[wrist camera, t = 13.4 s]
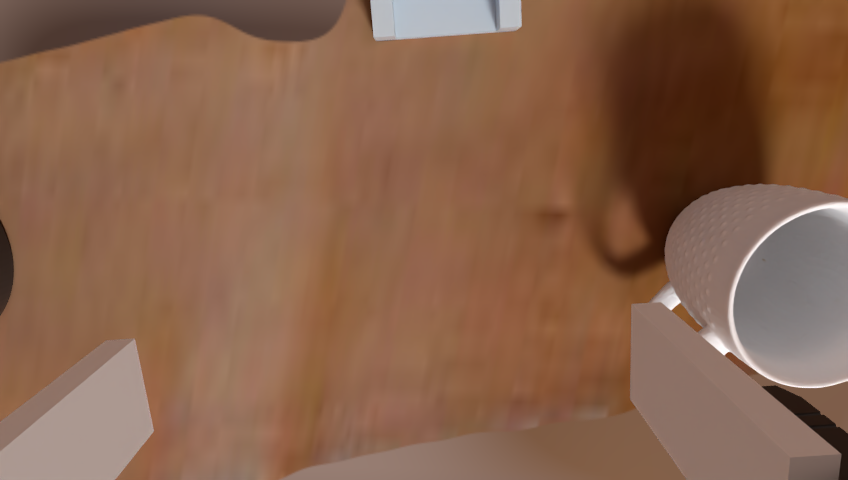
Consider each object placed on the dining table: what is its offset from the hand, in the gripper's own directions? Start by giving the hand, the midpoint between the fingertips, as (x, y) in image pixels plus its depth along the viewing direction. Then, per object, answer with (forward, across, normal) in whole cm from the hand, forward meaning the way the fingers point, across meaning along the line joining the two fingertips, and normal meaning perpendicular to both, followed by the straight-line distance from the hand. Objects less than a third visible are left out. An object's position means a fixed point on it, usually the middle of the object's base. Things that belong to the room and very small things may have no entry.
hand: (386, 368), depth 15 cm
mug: (+29, +22, -6) cm, 37 cm away
